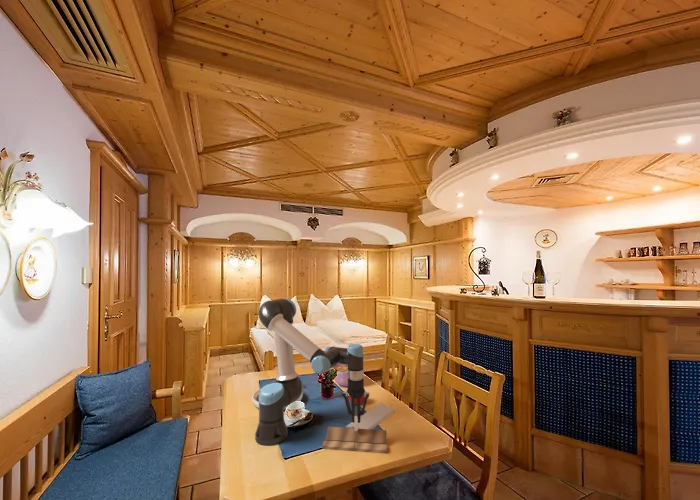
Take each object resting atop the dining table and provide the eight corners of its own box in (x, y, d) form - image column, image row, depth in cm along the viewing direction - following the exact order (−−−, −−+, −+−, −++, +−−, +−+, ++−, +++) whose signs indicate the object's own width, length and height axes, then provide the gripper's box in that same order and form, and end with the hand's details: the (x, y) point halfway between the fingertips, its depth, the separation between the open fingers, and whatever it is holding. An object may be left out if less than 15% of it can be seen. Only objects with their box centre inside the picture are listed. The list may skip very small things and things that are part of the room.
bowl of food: (366, 382, 221) (365, 365, 221) (351, 392, 203) (351, 374, 204) (342, 377, 231) (342, 361, 231) (326, 386, 214) (326, 369, 214)
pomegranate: (365, 406, 184) (365, 390, 184) (348, 406, 184) (348, 390, 184) (365, 399, 193) (365, 383, 194) (349, 398, 194) (349, 383, 194)
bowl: (240, 408, 182) (241, 395, 183) (271, 389, 210) (271, 377, 211) (285, 417, 172) (285, 402, 172) (311, 395, 200) (311, 383, 200)
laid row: (322, 448, 142) (322, 446, 142) (324, 442, 146) (324, 440, 146) (387, 453, 138) (387, 450, 138) (387, 447, 142) (387, 444, 142)
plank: (325, 440, 147) (325, 439, 147) (327, 427, 152) (327, 426, 152) (386, 444, 143) (386, 443, 143) (386, 431, 148) (386, 430, 148)
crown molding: (365, 435, 153) (365, 427, 154) (345, 427, 161) (345, 420, 161) (394, 412, 177) (394, 406, 177) (375, 407, 184) (375, 400, 184)
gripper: (340, 380, 146) (341, 432, 145) (368, 381, 145) (369, 434, 144) (343, 374, 154) (343, 424, 153) (370, 375, 152) (370, 425, 151)
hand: (356, 429), depth 148 cm, fingers closed
